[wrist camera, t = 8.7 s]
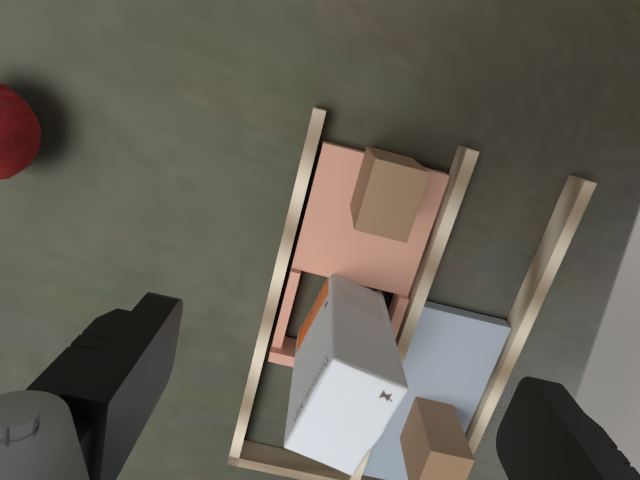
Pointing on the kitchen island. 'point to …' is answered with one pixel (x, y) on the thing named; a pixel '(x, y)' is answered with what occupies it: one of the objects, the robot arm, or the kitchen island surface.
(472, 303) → the kitchen island surface
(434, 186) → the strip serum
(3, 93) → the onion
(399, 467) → the strip empty
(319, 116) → the lane rails
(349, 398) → the skincare box
